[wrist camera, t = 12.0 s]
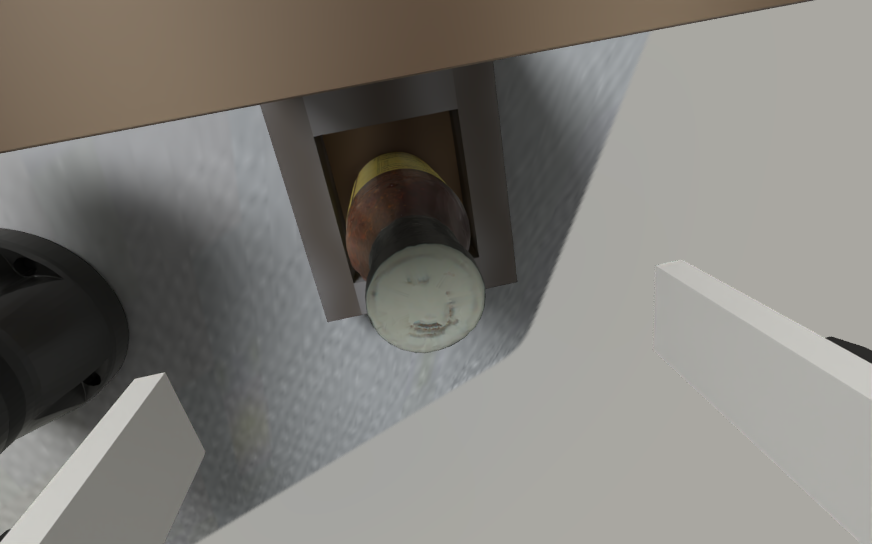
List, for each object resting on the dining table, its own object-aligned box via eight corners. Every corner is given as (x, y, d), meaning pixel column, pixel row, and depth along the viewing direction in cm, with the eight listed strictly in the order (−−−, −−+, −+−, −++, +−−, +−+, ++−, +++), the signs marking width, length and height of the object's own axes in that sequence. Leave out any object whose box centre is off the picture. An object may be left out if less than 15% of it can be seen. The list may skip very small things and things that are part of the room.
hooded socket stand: (327, 293, 36) (214, 758, 11) (244, 18, 28) (-795, -542, 3) (505, 256, 37) (781, 615, 12) (472, -23, 29) (1087, -752, 4)
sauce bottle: (412, 245, 35) (449, 421, 16) (338, 207, 33) (289, 356, 15) (456, 172, 33) (553, 276, 15) (381, 127, 31) (385, 182, 13)
